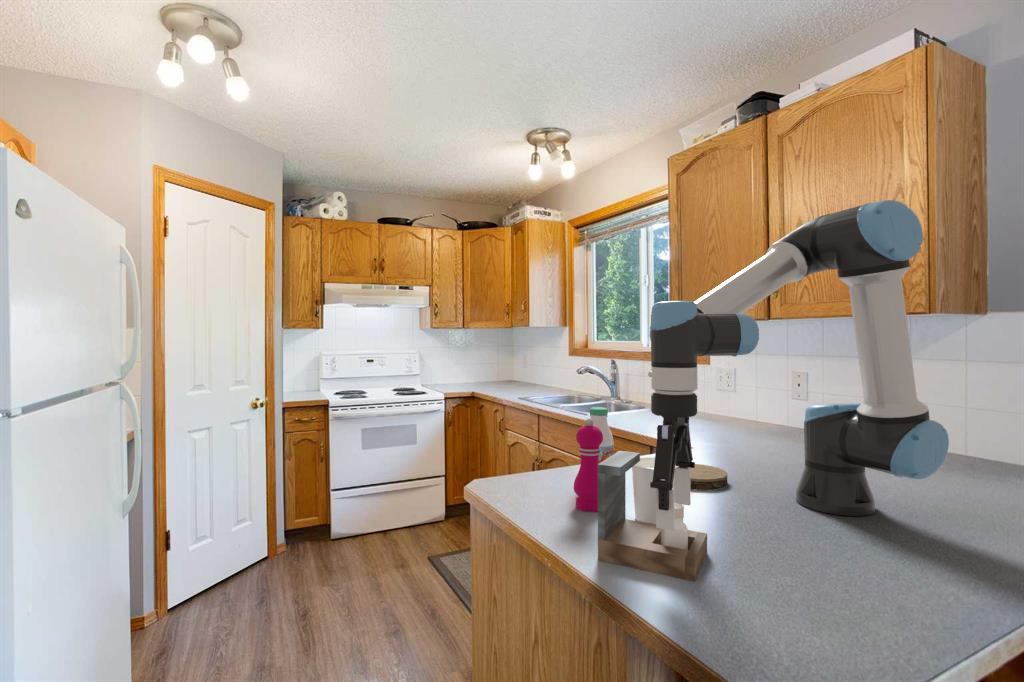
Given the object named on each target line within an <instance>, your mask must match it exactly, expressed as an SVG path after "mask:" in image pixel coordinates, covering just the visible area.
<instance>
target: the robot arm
mask: <svg viewBox="0 0 1024 682" xmlns="http://www.w3.org/2000/svg"><path fill="white" fill-rule="evenodd" d="M923 240H924V234H923V229H922V224H921V222H920V220H919V218H918V216H917V214H916V213H915V212H914V211H913V210H912V208H909V206H907V205H906V204H905V203H903V202H901V201H897V200H893V199H892V200H890V199H889V200H888V199H886V200H880V201H874V202H868V203H865V204H862V205H858V206H854V207H851V208H846V209H844V210H843V209H842V210H840V211H836V212H832V213H827V214H824V215H820V216H817V217H815V218H812V219H810V220H809V221H807V222H805V223H803V224H801V225H800V226H798V227H797V228H795V229H793V230H792V231H791V232H789V233H788V234H786V235H785V236H783V237H782V238H780V239H778V240H777V241H775V242H773V244H771V245H770V246H769V247H768V249H767V251H766V254H765V255H763V256H762V257H760V258H758V259H757V260H756V261H754V262H752V263H751V264H750V265H748V266H746V267H744V269H742V270H741V271H739V272H737V273H736V274H735V275H733V276H731V277H730V278H728V279H727V280H725V281H724V282H722V283H721V284H719V285H718V286H715V288H713V289H712V290H710V291H709V292H707V293H706V294H703V296H701V297H699V298H698V299H697V300H695V301H691V300H690V301H689V300H669V301H668V300H667V301H666V300H665V301H658V302H655V303H654V304H653V305H652V307H651V312H650V313H651V314H650V326H649V338H650V339H649V340H650V362H651V364H650V365H651V368H650V369H651V371H648V372H647V375H648V377H649V378H651V381H650V382H651V389H652V390H654V392H652V394H650V395H651V396H650V399H651V400H650V404H651V405H650V406H651V407H650V410H651V411H650V412H651V413H652V414H653V415H655V416H659V417H660V416H661V417H662V418H663V420H662V424H658V425H657V427H656V446H655V456H654V458H655V463H654V472H653V481H652V482H651V483H650V486H651V488H656V528H660V529H666V530H671V531H674V503H678V504H681V505H683V506H691V502H692V501H691V489H690V469H688V468H695V464H696V462H695V461H693V459H694V458H693V451H692V450H693V449H692V443H691V442H692V440H691V435H690V434H691V433H690V418H691V417H695V416H696V415H698V395H697V393H695V391H697V390H698V357H707V356H708V357H726V356H727V357H729V356H731V357H737V356H745V355H749V354H751V353H753V351H754V350H755V349H756V348H757V346H758V344H759V340H760V337H759V336H760V329H759V326H758V323H757V322H756V321H757V320H755V319H754V318H753V317H752V316H750V315H749V314H745V312H747V311H749V310H750V309H752V308H753V307H754V306H756V305H757V304H759V303H760V302H761V301H763V300H765V299H766V298H768V297H769V296H770V295H772V294H774V293H775V292H776V291H778V290H780V289H781V288H782V287H784V286H785V285H786V284H788V283H796V282H799V281H802V279H804V278H805V277H807V276H809V275H811V274H812V275H813V274H815V273H819V272H823V271H830V270H836V271H837V277H838V278H837V279H838V280H839V281H841V282H842V283H844V284H846V285H847V286H848V292H849V298H850V307H851V314H852V321H853V327H854V336H855V337H854V338H855V343H856V344H855V345H856V351H857V357H858V365H859V371H860V380H861V388H862V393H863V394H862V395H863V401H862V403H859V402H858V403H857V402H856V403H855V402H854V403H847V402H845V403H820V404H819V403H817V404H816V403H815V404H810V405H809V406H807V408H806V409H805V410H804V411H805V412H804V414H805V415H804V421H803V424H804V425H803V426H804V427H803V433H804V434H803V436H804V469H803V472H802V473H801V477H800V478H799V482H798V483H797V487H796V490H795V500H796V502H797V503H798V504H799V505H801V506H804V507H806V508H809V509H811V510H813V511H814V510H815V511H817V512H821V513H826V514H832V515H838V516H849V517H850V516H851V517H862V516H868V515H873V514H874V513H875V511H876V508H875V507H876V502H875V498H874V496H873V493H872V490H871V487H870V484H869V482H868V479H867V476H866V468H867V469H871V470H874V471H878V472H881V473H885V474H890V475H894V476H895V477H899V478H907V479H913V480H923V479H927V478H929V477H931V476H933V475H934V474H935V473H937V471H938V470H939V469H940V468H941V466H942V465H943V463H944V462H945V460H946V458H947V455H948V450H949V444H950V441H949V440H950V439H949V434H948V431H947V429H946V428H945V427H944V425H943V424H941V423H940V422H937V421H935V420H931V419H930V410H929V406H928V405H926V404H925V403H923V402H922V401H920V400H919V398H918V397H917V396H918V395H917V388H916V381H915V379H916V378H915V373H914V372H915V371H914V365H913V364H914V363H913V356H912V350H911V348H912V347H911V343H910V342H911V341H910V334H909V327H908V326H909V325H908V318H907V311H906V302H905V296H904V288H903V280H902V279H903V278H904V277H903V276H904V275H905V274H907V272H908V271H909V270H910V269H911V263H910V260H911V259H912V258H914V257H916V255H917V254H918V253H919V252H920V250H921V245H922V244H923V242H924V241H923ZM675 465H676V466H679V467H675ZM661 479H665V481H663V480H661ZM673 479H674V489H673Z"/></svg>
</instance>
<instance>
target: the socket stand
mask: <svg viewBox="0 0 1024 682" xmlns="http://www.w3.org/2000/svg"><path fill="white" fill-rule="evenodd" d="M640 458H641V452H634V451H624V450H618V451H616V452H614V454H613V455H612V456H610V457H609V458H607V459H605V460H604V461H602V462H601V463H599V464H598V511H597V560H598V561H600V562H606V563H611V564H615V565H619V566H625V567H628V568H633V569H637V570H642V571H646V572H651V573H655V574H660V575H664V576H665V575H666V576H669V577H673V578H678V579H682V580H687V581H692V582H696V580H697V578H698V576H699V573H700V571H701V568H702V566H703V563H704V562H705V559H706V557H707V555H706V554H708V533H706V532H701V531H696V530H691V529H690V530H689V529H688V550H685V549H679V548H674V547H669V546H664V545H661V529H660V528H656V524H651V523H645V522H639V521H637V520H634V519H628V518H626V472H628V471H629V470H630V469H632V467H633V466H634V465H635V464H637V463H638V462H639V461H640ZM703 561H704V562H703Z"/></svg>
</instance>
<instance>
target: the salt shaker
mask: <svg viewBox="0 0 1024 682" xmlns="http://www.w3.org/2000/svg"><path fill="white" fill-rule="evenodd" d="M684 509H685V505H683V504H678V503H674V531H671V530H666V529H661V545H664V546H669V547H674V548H679V549H685V550H688V530H689V529H688V527H687V524H686V523H685V522H684V518H685V516H684V515H685V513H684V512H685V511H684Z"/></svg>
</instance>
